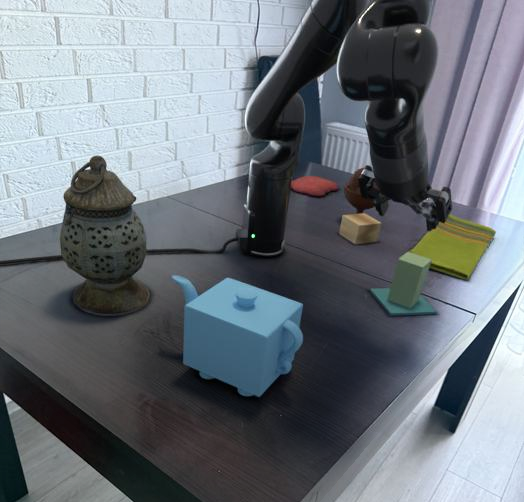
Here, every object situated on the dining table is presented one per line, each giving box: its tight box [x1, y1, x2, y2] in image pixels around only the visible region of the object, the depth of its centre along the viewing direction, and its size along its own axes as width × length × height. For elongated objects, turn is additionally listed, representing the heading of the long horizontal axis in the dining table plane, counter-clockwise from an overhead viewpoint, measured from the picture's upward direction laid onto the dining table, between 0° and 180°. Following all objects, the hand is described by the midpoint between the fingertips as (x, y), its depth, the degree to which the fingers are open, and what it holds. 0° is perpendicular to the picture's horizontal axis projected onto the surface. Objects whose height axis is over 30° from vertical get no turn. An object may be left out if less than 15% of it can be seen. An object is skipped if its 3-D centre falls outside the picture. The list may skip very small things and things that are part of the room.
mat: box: [369, 287, 437, 317], centre depth 103 cm, size 10×10×1 cm
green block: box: [387, 251, 432, 308], centre depth 100 cm, size 5×5×9 cm
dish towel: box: [408, 214, 497, 280], centre depth 129 cm, size 15×36×3 cm, turn 150°
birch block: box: [338, 212, 382, 245], centre depth 128 cm, size 7×7×5 cm
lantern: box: [59, 155, 151, 317], centre depth 85 cm, size 14×14×25 cm
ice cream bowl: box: [343, 167, 378, 214], centre depth 134 cm, size 11×11×15 cm
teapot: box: [171, 274, 304, 398], centre depth 75 cm, size 22×11×14 cm, turn 61°
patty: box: [291, 175, 340, 198], centre depth 161 cm, size 18×14×2 cm
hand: (407, 218), depth 84 cm, fingers open, 8 cm apart
